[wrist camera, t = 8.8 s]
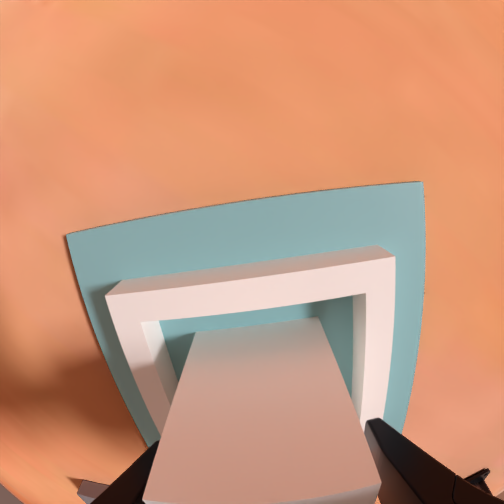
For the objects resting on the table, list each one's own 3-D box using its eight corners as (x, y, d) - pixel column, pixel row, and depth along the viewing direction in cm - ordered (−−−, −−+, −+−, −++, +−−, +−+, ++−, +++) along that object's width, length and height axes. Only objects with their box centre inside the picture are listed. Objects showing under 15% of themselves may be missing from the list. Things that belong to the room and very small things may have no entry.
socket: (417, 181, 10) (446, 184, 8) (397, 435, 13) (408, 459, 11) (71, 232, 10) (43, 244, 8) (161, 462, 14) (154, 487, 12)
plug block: (318, 316, 11) (381, 482, 4) (322, 413, 12) (354, 552, 5) (196, 331, 11) (142, 499, 4) (222, 425, 12) (207, 564, 5)
